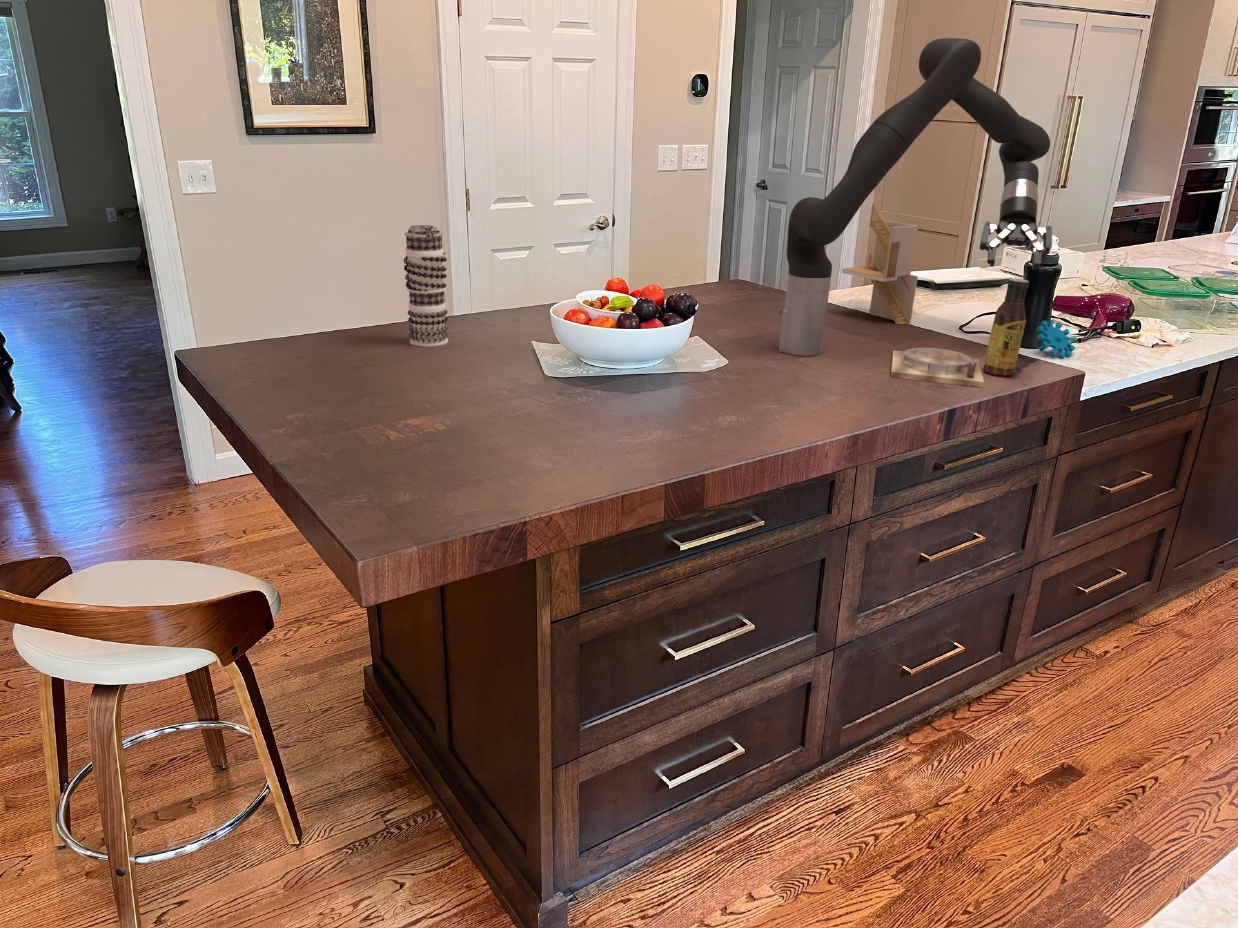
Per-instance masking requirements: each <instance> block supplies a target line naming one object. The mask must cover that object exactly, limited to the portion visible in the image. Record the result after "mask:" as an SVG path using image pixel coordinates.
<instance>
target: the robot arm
mask: <svg viewBox="0 0 1238 928" xmlns="http://www.w3.org/2000/svg"><path fill="white" fill-rule="evenodd" d="M981 61H982V51H981V48H980V45H979V44H978V43H977V42H976V41H974V40H972V39H968V38H961V37H960V38H956V37H948V38H947V37H943V38H937V39H933V40H931V41H930V42H928V43H927V44H926V45H925V46H924V48H922V51H921V53H920V55H919V59H918V70H919V72H920V73H919V74H920V75H921V77H922V79H923V80H925V81H924V82H923V83H922V85H920V86H919V87H918V88H917V89H916V90H914V92H912V93H911V94H909V95H908V96H906V97H904V98H903V99H902V100H900V101H899V102H896V103H895V104H893V105H892V106H890V107H889V108H888V109H886V110H885V111H884V112H882V113H881V114H879V116H878V117H877V118H876V119H875V120H874V121H873V122H872V123H871V125H870V126H869V127H868V128H867V129H866V131H865V132H864V133H863V134H862V136H861V137H860V138H859V140H858V141H857V142H856V144H855V145H854V149H853V151H852V153H851V156H850V160H849V163H848V167H847V169H846V171H845V173H844V175H843V176H842V178H841V180H840V181H839V182H838V184H836V186H835V187H834V188H833V189H832V190H831V191H830V192H829V193H828V194H827V195H826V196H825V197H824V198H819V197H814V196H812V197H811V196H810V197H808V196H807V197H805V198H802V199H800V200H799V201H797V203H796V204H795V205H794V207H793V208H792V210H791V212H790V216H789V220H788V228H787V243H786V244H787V245H786V259H787V263H788V274H787V284H786V285H787V286H786V292H785V301H784V302H785V303H784V308H783V309H782V316H781V317H782V319H781V327H780V337H779V347H778V352H781V353H785V354H789V355H794V356H802V357H803V356H804V357H811V356H812V357H815V356H817V355H819V356H820V354H822V353H823V352H822V351H823V350H822V349H823V345H824V336H825V329H826V328H825V327H826V320H827V319H826V318H827V312H828V311H827V310H828V306H829V305H828V304H829V303H828V302H829V296H830V295H829V294H830V287H831V280H832V279H831V278H832V273H833V271H832V270H833V264H832V262H831V261H830V259H829V257H828V255H827V252H826V245H829V244H831V243H833V242H835V241H836V240H838V239H839V237H840V236H841V235H842V234H843V233H844V231H845V230H846V229H847V227H848V225H849V224H850V223H851V221H852V220H853V218H854V217H855V215H856V214H857V212H858V211H859V209H860V208H861V207H862V205H863V204H864V202H865V200H867V199H868V198H869V196H870V194H872V193H873V191H874V190H875V189H876V187H877V186H878V185H879V184H880V182H881V181H882V180H883V179H884V178H885V176H886V175H887V174H888V173H889V171H891V169H893V167H894V166H895V165H896V164H897V163H898V162H899V160H901V158H902V157H903V155H904V154H905V153H906V152H907V151H908V150H909V148H910V147H911V146H912V145H913V143H914V142H915V141H916V140H917V138H918V137H919V136H920V135H921V134H922V132H923V131H924V130H925V129H926V128H927V126H929V125H930V123H932V121H933V120H934V119H935V118H936V116H937V115H938V114H939V113H940V112H941V111H942V109H944V108H945V107H946V106H947V105H948V104H949V103H950V102H951V101H953V102H954V103H955V104H957V105H958V106H959V107H960V108H961V110H963V111H965V113H967V114H968V115H969V116H970V118H972V119H973V120H974V122H976V123H977V124H978V125H979V127H980V128H981V129H982V130H983V131H984V132H985V133H986V134H987V135H988V136H989V137H990V138H991V139H992V140H993V142H994V143H998V144H1001V145H1000V147H999V149H998V155H999V159H1000V163H1001V164H1002V165H1001V166H1002V169H1003V176H1004V181H1003V189H1002V194H1001V199H1000V204H999V207H1000V209H999V220H998V224H991V221H985V222H984V224H983V228H982V232H981V233H982V234H981V238H980V242H979V243H980V245H979V250H980V251H987V260H986V261H987V264H988V265H989V267H992V268H993V267H994V266H995V263H996V254H997V250H998V249H1000V248H1001V247H1003V246H1004V245H1007V246H1016V247H1017V246H1018V247H1023V246H1024V247H1025V248H1026V249H1027V250H1028V251H1030V252H1031V253H1032V254H1033V256H1032V262H1031V263H1032V265H1031V270H1032V271H1036V270H1037V269H1039V268H1040V265H1041V263H1042V256H1043V255H1044V256H1048V255H1049V254H1050V251H1051V249H1052V247H1053V227H1052V225H1046V227H1038V225H1037V215H1038V204H1039V191H1038V187H1039V186H1038V185H1039V176H1040V175H1039V174H1040V173H1039V171H1040V170H1039V168H1038V166H1037V165H1036V164H1035V163H1034V161H1036V160H1039V159H1041V158H1043V157H1044V156H1046V155H1047V153H1048V152H1049V151H1050V148H1051V139H1050V136H1049V134H1048V132H1047V131H1046V130H1045V129H1044V128H1043V127H1042V126H1040V125H1039V124H1037V123H1035V122H1033V120H1030V119H1028V118H1026V117H1024V116H1022V115H1020V114H1019V113H1018V112H1017V110H1015V109H1014V108H1013V106H1012V105H1011V104H1010V103H1009V102H1008V101H1007V100H1006V99H1005V98H1004V97H1003V96H1002V95H1000V94H999V93H997V92H996V91H995V90H993V89H991V88H990V87H989V86H987V85H985V84H984V83H982V82H980V81H979V80H977V79H976V78H975V75H976V74H977V71H978V70H979V67H980V64H981ZM994 232H995V233H996V235H997V236H996V237H995V238H994V239H993V240H992V241H988V239H989V236H991V235H992V234H993V233H994ZM1037 235H1038V236H1039V238H1040V239H1042V242H1043V243H1042V244H1041V243H1040V242H1039V240H1038V237H1037Z"/></svg>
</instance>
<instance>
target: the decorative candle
mask: <svg viewBox="0 0 1238 928" xmlns="http://www.w3.org/2000/svg"><path fill="white" fill-rule="evenodd" d="M403 235H404V236H405V239H406V240H405V244H406V247H405V256H404V258H403V263H404V265H403V270H404V271H405V272H406V273H407V274H405V276H404V277H405V288H406V291H408V294H409V295H408V297H409V302H408V311H407V315H408V316H409V317H408V319H407V321H408V322H409V323H410V324H409V325H408V327H407V328H408V331H409V333H408V337H409V338H410V340H409V344H411V345H413V346H415V347H424V348H426V347H427V348H428V347H429V348H430V347H431V348H432V347H440V346H444V345H446V344H448V342H449V339H448V336H449V332H448V330H449V325H448V324H447V323H446V322H448V319H449V318H448V317H447V316H446V315H448V310H447V309H446V307H447V306H446V300H445V291H447V283H445V282H444V279H446V278H447V274H446V273H444V272H446V271H447V267H446V266H445V265H443V263H445V262H447V261H448V259H447V258H446V256H445V255H446V252H444V248H443V236H444V233H442V232H440V230H439V228H438V227H437V226H435V225H430V224H429V225H428V224H427V225H426V224H425V225H423V224H421V225H420V224H419V225H418V224H417V225H412V226H410V227H409V228H408V230H407V232H405V233H404V234H403Z"/></svg>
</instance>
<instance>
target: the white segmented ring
mask: <svg viewBox="0 0 1238 928" xmlns="http://www.w3.org/2000/svg"><path fill="white" fill-rule="evenodd" d="M916 358H936V359H944V360H948V361H952V362H956V363H958V364H940V363H931V362H927V361H923V360H919V359H916ZM972 359H973V358H972V357H971V356H969V355H967V354H964V353H963V352H958V351H954V350H951V349H945V348H935V347H913V348H909V349H906V350H904V358H903V364H904V365H906V366H908V367H910V368H911V369H915V370H919V371H922V372H926V373H933V374H942V375H958V374H964V373H967V378H974V374H975V368H976V363H974V362H972Z"/></svg>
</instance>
